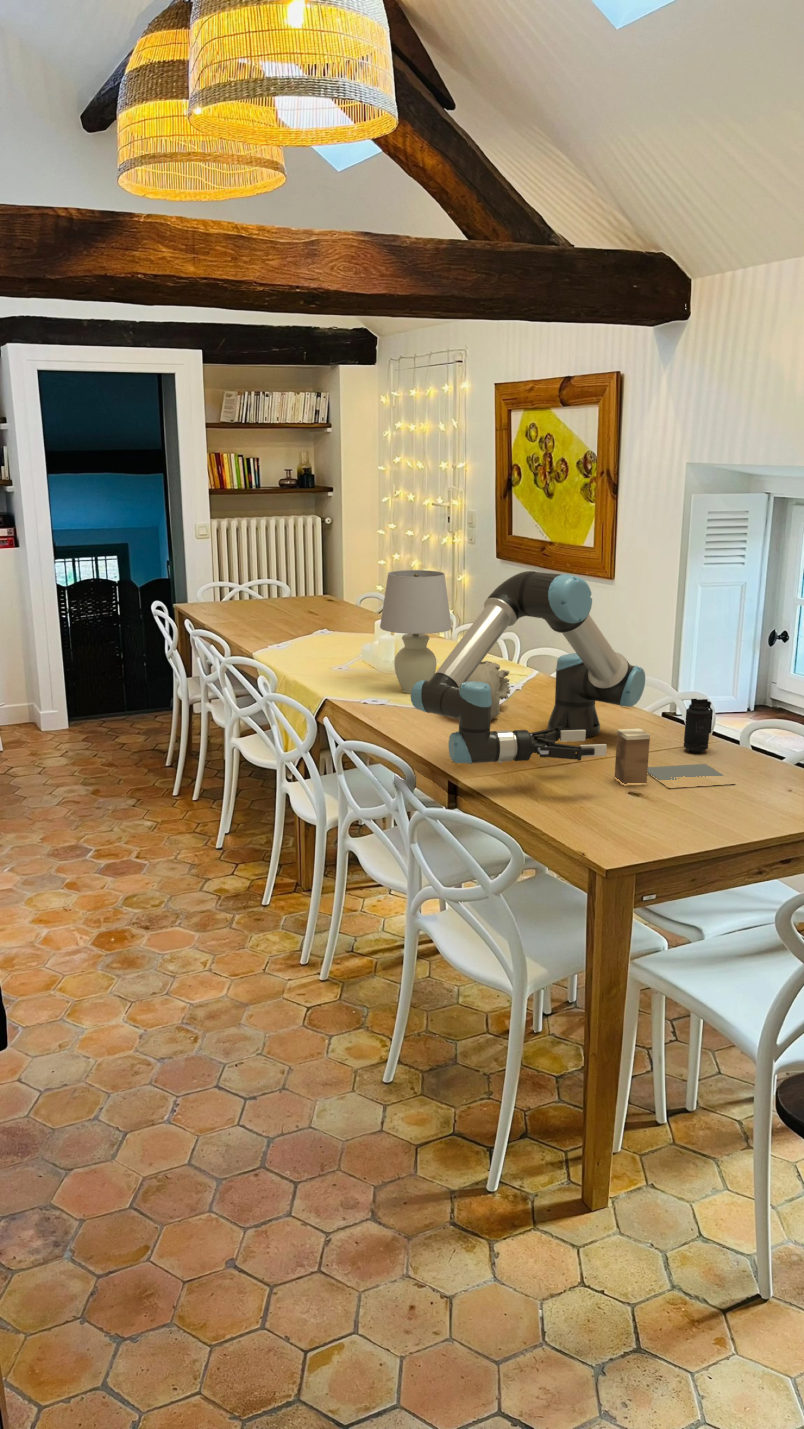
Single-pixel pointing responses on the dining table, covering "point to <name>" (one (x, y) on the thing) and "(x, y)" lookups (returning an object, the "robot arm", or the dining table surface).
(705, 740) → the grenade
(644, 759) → the block
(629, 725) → the dining table surface
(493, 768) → the dining table surface
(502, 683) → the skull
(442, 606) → the lamp
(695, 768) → the mat
